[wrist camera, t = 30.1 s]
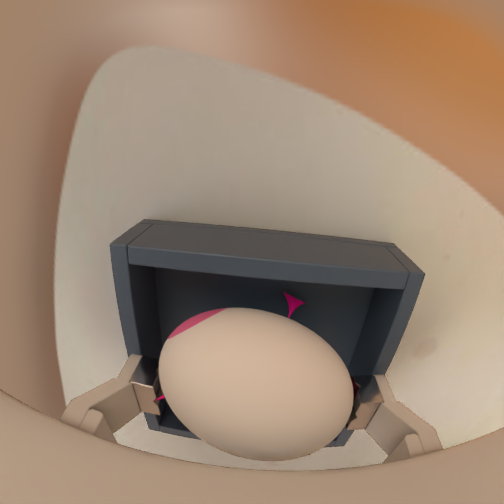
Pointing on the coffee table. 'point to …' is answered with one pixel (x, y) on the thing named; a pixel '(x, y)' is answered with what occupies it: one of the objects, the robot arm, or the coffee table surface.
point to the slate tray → (263, 290)
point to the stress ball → (255, 383)
